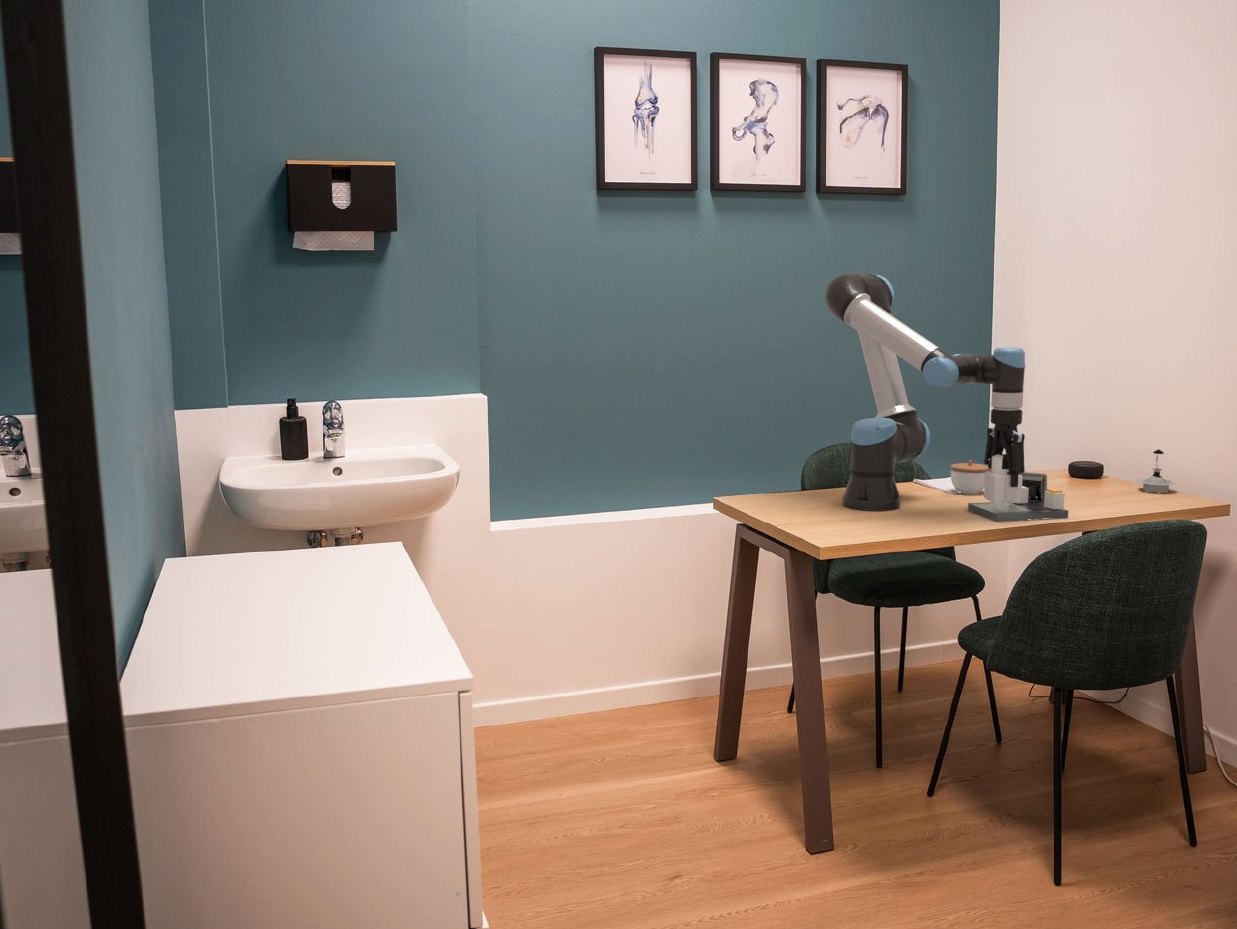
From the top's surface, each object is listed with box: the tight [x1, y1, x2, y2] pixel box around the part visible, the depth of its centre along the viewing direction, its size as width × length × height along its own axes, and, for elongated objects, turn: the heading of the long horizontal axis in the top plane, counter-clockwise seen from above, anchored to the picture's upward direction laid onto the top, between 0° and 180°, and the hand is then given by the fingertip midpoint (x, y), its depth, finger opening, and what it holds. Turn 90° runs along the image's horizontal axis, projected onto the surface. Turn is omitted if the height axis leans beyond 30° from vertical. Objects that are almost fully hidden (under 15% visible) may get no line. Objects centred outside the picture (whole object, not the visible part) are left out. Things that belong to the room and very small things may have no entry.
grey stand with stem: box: [1136, 448, 1177, 494], centre depth 299 cm, size 12×10×10 cm
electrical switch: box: [1019, 471, 1048, 502], centre depth 282 cm, size 9×5×9 cm, turn 57°
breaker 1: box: [1017, 486, 1029, 504], centre depth 274 cm, size 3×4×4 cm
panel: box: [967, 500, 1069, 523], centre depth 270 cm, size 20×14×2 cm
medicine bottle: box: [983, 453, 1022, 503], centre depth 268 cm, size 7×7×12 cm
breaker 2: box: [1044, 488, 1065, 509], centre depth 267 cm, size 3×4×5 cm
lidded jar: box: [950, 459, 989, 495], centre depth 299 cm, size 11×11×9 cm
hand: (1002, 496), depth 269 cm, fingers closed on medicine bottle, 8 cm apart
